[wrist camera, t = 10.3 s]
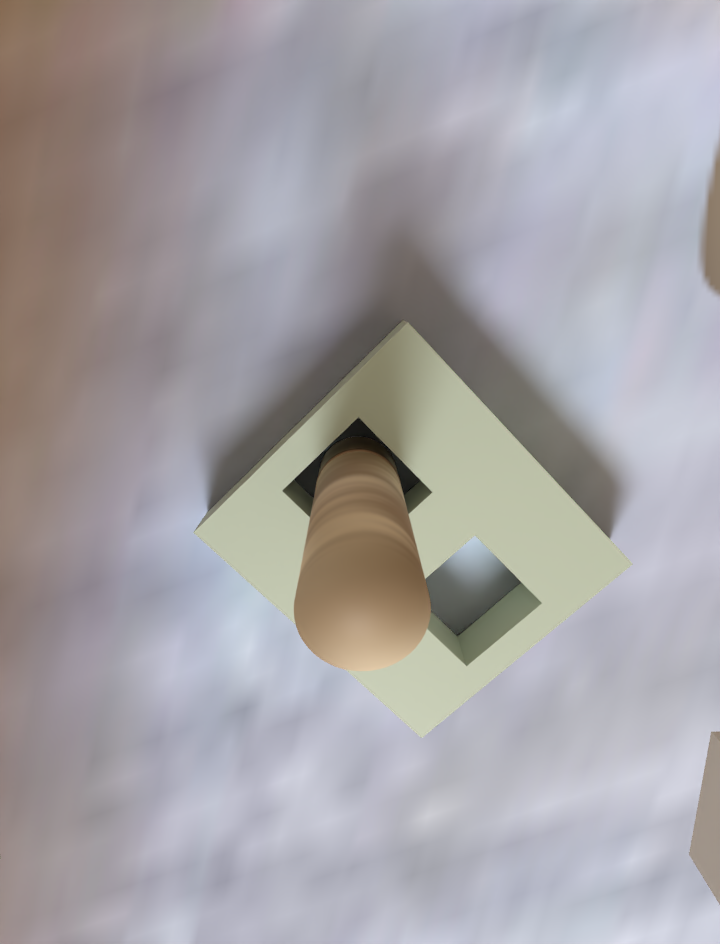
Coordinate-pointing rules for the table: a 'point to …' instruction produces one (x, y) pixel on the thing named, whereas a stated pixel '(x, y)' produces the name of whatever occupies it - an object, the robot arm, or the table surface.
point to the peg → (360, 563)
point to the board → (427, 521)
